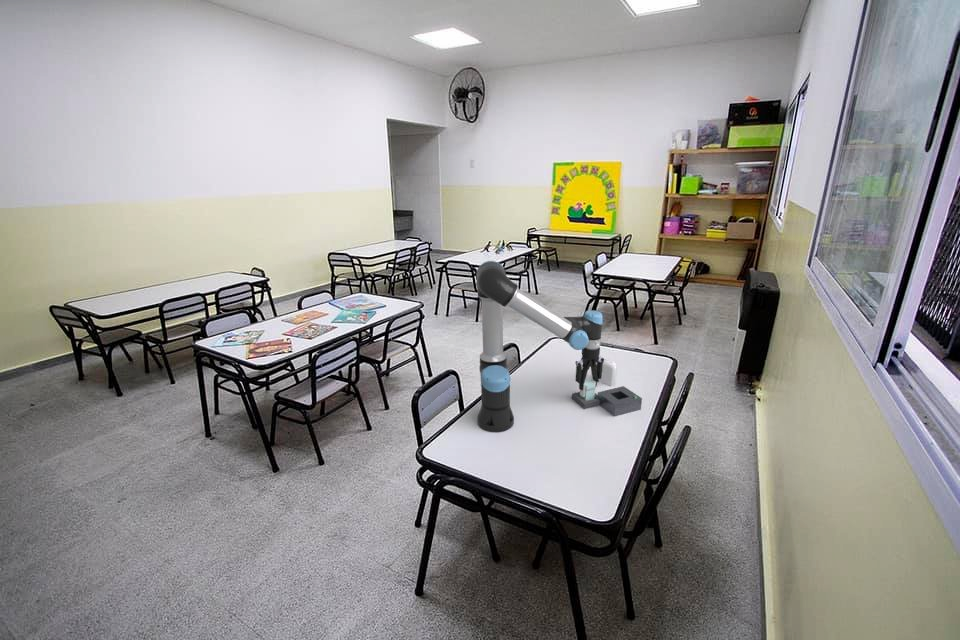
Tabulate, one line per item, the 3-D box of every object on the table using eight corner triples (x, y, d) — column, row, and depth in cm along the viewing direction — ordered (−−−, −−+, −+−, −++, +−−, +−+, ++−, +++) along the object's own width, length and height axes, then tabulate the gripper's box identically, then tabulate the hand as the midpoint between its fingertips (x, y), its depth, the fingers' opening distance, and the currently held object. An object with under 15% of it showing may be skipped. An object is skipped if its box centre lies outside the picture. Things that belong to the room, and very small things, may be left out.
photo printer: (593, 380, 215) (595, 357, 211) (599, 378, 218) (601, 355, 214) (611, 388, 208) (613, 364, 204) (617, 385, 210) (619, 362, 206)
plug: (585, 404, 193) (586, 386, 190) (579, 399, 197) (580, 381, 194) (594, 402, 194) (595, 384, 191) (588, 397, 198) (589, 379, 195)
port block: (614, 417, 184) (615, 404, 182) (596, 404, 194) (597, 391, 192) (640, 410, 189) (642, 397, 186) (622, 397, 199) (623, 385, 197)
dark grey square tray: (584, 410, 190) (584, 404, 189) (571, 399, 198) (571, 393, 197) (603, 405, 193) (603, 399, 192) (589, 395, 202) (590, 389, 201)
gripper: (578, 353, 180) (575, 402, 188) (613, 346, 187) (608, 394, 194) (568, 346, 187) (565, 394, 195) (602, 340, 193) (598, 387, 201)
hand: (587, 394), depth 194 cm, fingers closed on plug, 5 cm apart
